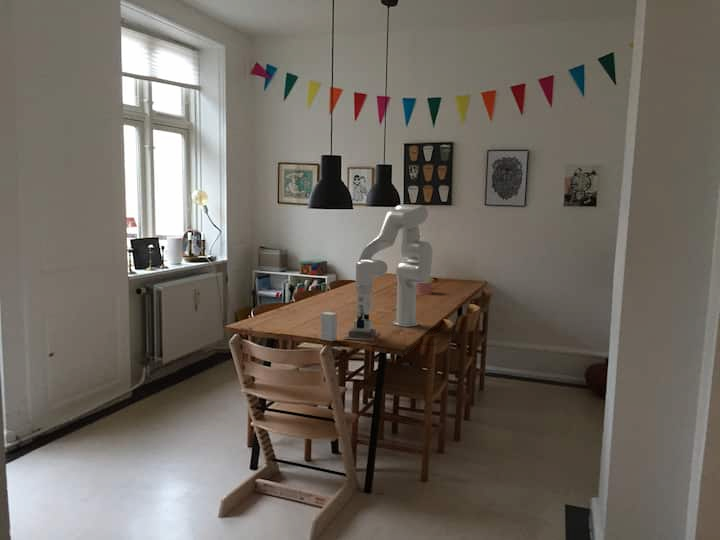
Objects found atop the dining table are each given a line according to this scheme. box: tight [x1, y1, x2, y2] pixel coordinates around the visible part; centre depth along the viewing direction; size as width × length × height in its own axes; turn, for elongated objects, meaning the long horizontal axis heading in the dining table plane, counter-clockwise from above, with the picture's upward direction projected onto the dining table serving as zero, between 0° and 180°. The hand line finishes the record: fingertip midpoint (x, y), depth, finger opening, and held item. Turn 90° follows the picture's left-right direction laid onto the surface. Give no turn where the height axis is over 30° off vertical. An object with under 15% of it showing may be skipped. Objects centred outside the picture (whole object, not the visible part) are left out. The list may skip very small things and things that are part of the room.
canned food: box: [414, 274, 433, 295], centre depth 381 cm, size 11×11×12 cm
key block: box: [353, 318, 372, 332], centre depth 260 cm, size 7×4×7 cm, turn 78°
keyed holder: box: [343, 326, 381, 343], centre depth 261 cm, size 16×13×3 cm
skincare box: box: [320, 311, 338, 342], centre depth 253 cm, size 6×4×12 cm
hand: (362, 325), depth 260 cm, fingers open, 9 cm apart
